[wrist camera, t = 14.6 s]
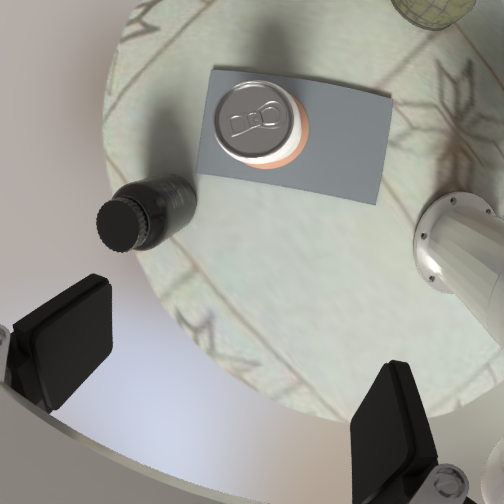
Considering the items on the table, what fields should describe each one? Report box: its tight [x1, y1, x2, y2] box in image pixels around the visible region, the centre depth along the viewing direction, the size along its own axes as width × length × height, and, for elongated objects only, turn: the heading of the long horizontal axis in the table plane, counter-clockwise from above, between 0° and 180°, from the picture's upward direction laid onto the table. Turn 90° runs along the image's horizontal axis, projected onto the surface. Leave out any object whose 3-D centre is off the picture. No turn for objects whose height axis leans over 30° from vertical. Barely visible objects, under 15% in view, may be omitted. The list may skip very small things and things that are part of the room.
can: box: [213, 80, 302, 164], centre depth 26 cm, size 6×6×12 cm
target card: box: [196, 70, 393, 205], centre depth 31 cm, size 20×12×1 cm, turn 81°
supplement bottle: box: [96, 175, 196, 253], centre depth 31 cm, size 7×7×12 cm
